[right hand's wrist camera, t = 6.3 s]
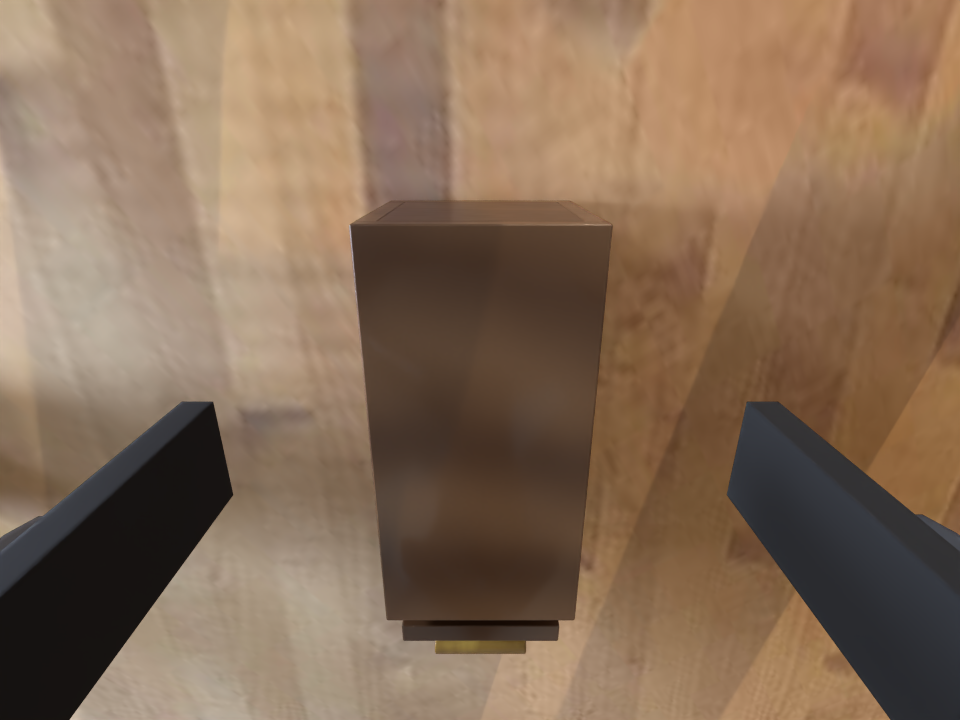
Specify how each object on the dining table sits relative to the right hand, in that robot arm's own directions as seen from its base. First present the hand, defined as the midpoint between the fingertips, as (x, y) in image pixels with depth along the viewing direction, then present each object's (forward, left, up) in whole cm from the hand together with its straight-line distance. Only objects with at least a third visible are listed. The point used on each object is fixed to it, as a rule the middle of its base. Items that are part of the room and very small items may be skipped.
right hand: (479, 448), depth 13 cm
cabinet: (+2, -6, -19) cm, 20 cm away
